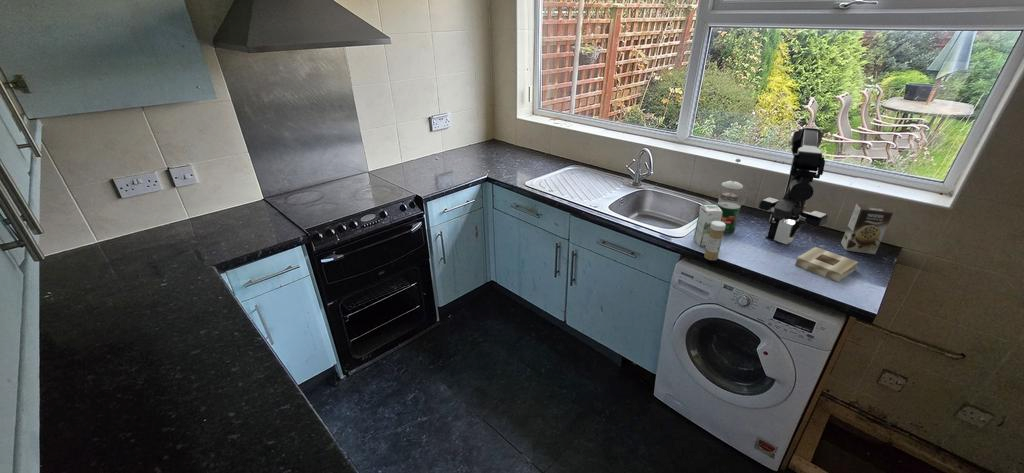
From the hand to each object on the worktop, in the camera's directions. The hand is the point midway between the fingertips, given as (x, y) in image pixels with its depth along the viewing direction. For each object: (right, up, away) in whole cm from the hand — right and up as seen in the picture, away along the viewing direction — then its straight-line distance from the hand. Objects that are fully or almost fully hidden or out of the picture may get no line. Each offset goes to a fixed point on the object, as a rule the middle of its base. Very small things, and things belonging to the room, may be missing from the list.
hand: (784, 234), depth 143 cm
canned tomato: (-7, +2, +28) cm, 29 cm away
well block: (+15, -11, +2) cm, 18 cm away
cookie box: (+35, -5, +13) cm, 38 cm away
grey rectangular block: (0, -2, +1) cm, 2 cm away
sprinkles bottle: (-21, -8, +8) cm, 24 cm away
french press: (+1, +8, +40) cm, 41 cm away
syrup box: (-19, -3, +18) cm, 26 cm away
